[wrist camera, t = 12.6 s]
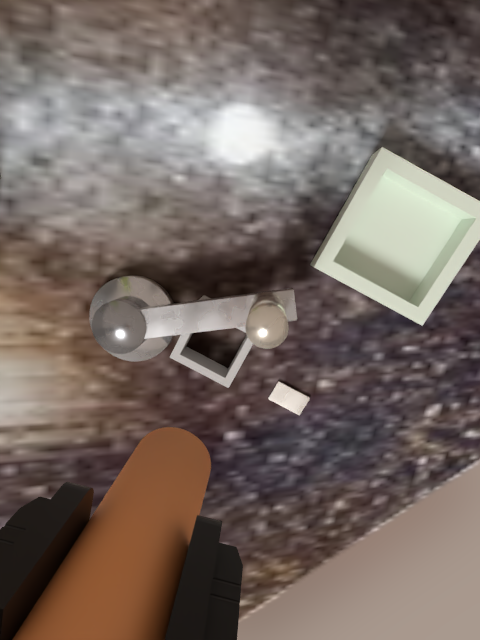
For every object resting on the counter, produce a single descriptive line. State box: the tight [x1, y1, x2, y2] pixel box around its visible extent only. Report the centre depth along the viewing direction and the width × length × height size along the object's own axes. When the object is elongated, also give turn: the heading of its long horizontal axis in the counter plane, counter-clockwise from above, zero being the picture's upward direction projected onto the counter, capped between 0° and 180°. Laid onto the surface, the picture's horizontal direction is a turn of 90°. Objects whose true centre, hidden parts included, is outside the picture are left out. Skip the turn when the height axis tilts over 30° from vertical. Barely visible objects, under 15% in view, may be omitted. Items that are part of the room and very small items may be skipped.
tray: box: [310, 147, 480, 325], centre depth 28 cm, size 9×9×2 cm
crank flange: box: [89, 275, 310, 415], centre depth 31 cm, size 7×20×1 cm, turn 62°
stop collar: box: [170, 295, 253, 388], centre depth 30 cm, size 5×5×2 cm
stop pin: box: [12, 427, 211, 640], centre depth 9 cm, size 3×3×11 cm
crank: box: [92, 288, 297, 354], centre depth 26 cm, size 15×4×8 cm, turn 98°
